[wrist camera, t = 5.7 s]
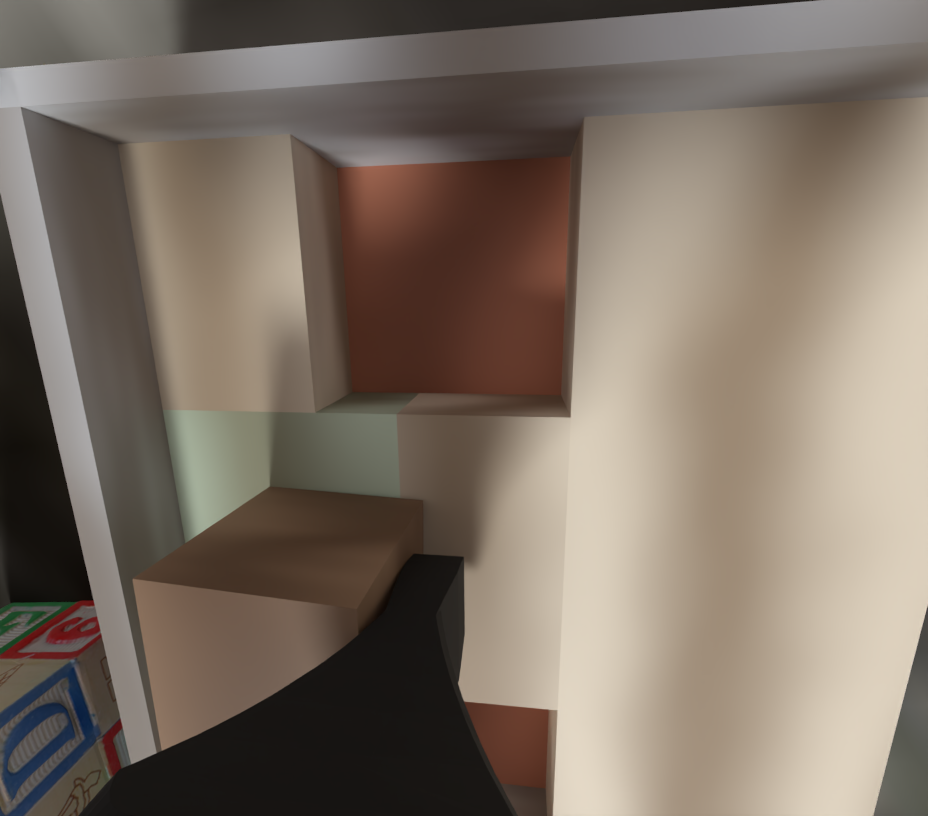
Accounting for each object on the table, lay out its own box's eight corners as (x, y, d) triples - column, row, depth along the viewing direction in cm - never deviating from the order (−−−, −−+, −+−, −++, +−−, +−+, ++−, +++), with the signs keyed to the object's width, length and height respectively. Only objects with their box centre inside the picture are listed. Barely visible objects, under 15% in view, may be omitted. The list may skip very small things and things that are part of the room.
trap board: (919, 117, 11) (1257, -37, 6) (782, 814, 15) (901, 1048, 11) (178, 157, 13) (-28, 70, 8) (264, 754, 18) (168, 925, 13)
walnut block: (423, 499, 11) (357, 608, 7) (423, 643, 12) (365, 808, 8) (269, 486, 11) (132, 578, 8) (281, 622, 12) (164, 766, 9)
